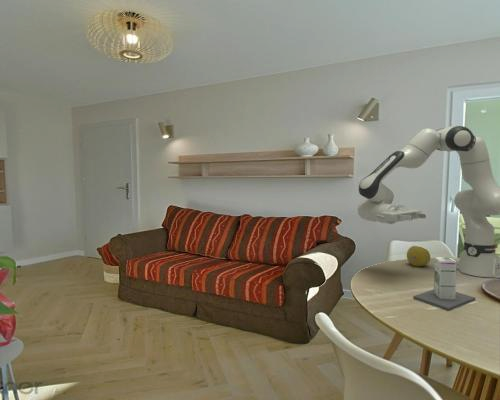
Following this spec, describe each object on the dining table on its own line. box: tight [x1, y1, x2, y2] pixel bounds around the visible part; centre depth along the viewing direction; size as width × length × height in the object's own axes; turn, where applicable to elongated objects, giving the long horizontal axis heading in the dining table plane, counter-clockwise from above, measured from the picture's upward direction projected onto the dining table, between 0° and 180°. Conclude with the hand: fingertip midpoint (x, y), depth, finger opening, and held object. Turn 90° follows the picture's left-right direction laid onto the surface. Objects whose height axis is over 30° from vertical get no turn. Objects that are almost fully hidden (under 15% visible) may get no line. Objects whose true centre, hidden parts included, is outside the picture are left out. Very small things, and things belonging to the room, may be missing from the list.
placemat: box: [412, 289, 476, 311], centre depth 125 cm, size 18×13×1 cm
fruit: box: [406, 245, 431, 267], centre depth 169 cm, size 10×11×10 cm
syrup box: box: [433, 256, 457, 300], centre depth 124 cm, size 6×6×14 cm
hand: (418, 217), depth 138 cm, fingers open, 8 cm apart
